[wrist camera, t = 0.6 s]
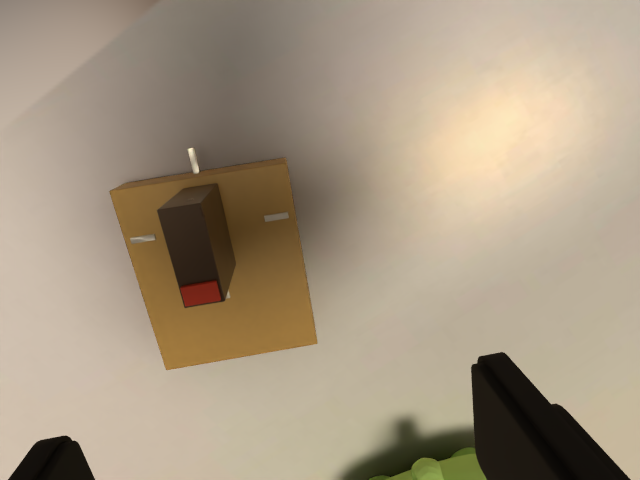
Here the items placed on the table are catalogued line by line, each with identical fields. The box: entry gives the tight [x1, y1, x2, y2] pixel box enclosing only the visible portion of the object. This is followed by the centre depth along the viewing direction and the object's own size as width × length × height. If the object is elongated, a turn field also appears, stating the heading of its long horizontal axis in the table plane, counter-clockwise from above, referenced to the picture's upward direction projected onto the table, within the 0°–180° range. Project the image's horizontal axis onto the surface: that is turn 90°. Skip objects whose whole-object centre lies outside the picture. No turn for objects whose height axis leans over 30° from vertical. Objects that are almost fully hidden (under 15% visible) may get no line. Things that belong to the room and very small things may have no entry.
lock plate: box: [110, 148, 317, 370], centre depth 26 cm, size 14×10×3 cm
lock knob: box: [157, 183, 236, 308], centre depth 21 cm, size 5×2×5 cm, turn 8°
